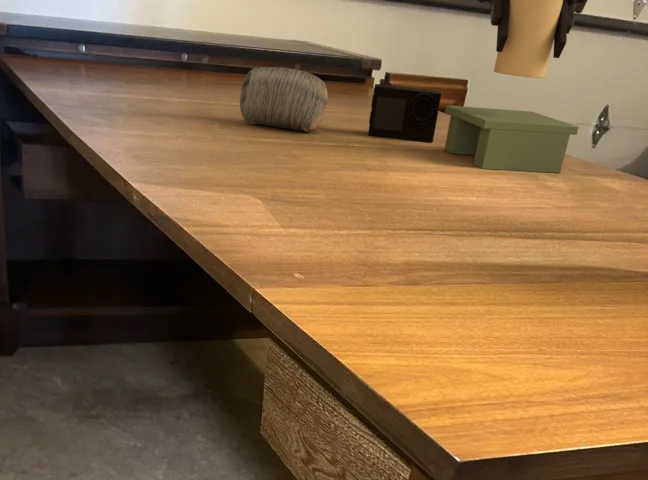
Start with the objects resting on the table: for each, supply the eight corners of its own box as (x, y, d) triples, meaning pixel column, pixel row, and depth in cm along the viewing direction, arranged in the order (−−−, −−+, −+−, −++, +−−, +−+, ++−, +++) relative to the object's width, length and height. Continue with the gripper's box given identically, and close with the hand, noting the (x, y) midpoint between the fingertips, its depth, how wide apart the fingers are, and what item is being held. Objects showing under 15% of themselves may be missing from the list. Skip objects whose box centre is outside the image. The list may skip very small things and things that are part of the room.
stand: (522, 154, 127) (532, 111, 123) (566, 173, 115) (579, 126, 112) (438, 149, 123) (446, 105, 120) (475, 168, 112) (485, 120, 109)
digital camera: (367, 136, 128) (374, 86, 124) (367, 131, 132) (374, 82, 129) (433, 144, 128) (442, 93, 124) (431, 138, 132) (440, 90, 128)
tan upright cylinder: (530, 73, 117) (551, -19, 111) (553, 79, 111) (577, -18, 105) (485, 69, 115) (504, -25, 109) (506, 75, 110) (528, -24, 104)
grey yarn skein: (220, 99, 123) (252, 35, 121) (242, 125, 132) (272, 66, 130) (294, 137, 120) (328, 72, 118) (311, 161, 129) (343, 101, 127)
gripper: (598, -64, 117) (593, 75, 112) (459, -79, 116) (449, 60, 112) (621, -115, 109) (617, 32, 105) (472, -131, 109) (463, 16, 105)
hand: (530, 46), depth 108 cm, fingers closed on tan upright cylinder, 7 cm apart
